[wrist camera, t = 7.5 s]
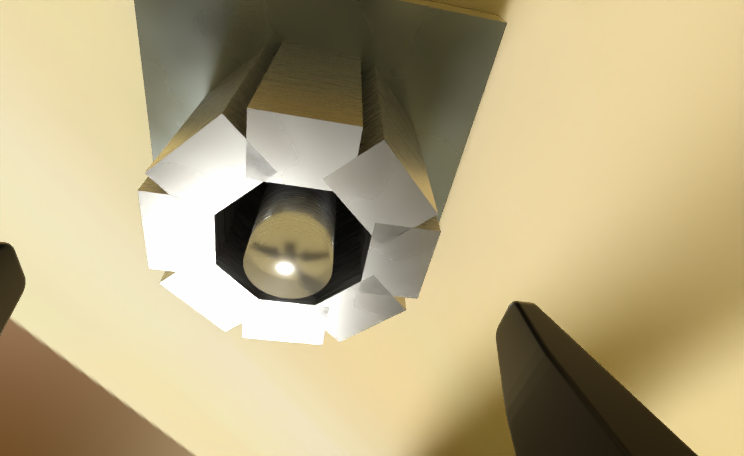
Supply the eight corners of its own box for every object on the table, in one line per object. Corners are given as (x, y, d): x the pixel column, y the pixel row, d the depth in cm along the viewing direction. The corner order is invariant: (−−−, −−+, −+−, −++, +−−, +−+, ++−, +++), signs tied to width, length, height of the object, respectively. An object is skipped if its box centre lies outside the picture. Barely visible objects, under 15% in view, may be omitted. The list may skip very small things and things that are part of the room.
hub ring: (388, 245, 15) (398, 352, 11) (208, 221, 14) (158, 329, 11) (434, 70, 12) (470, 144, 8) (200, 26, 11) (122, 87, 7)
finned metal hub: (415, 264, 17) (439, 406, 12) (174, 234, 16) (93, 379, 11) (496, 14, 12) (595, 89, 7) (145, -59, 10) (-36, -31, 6)
